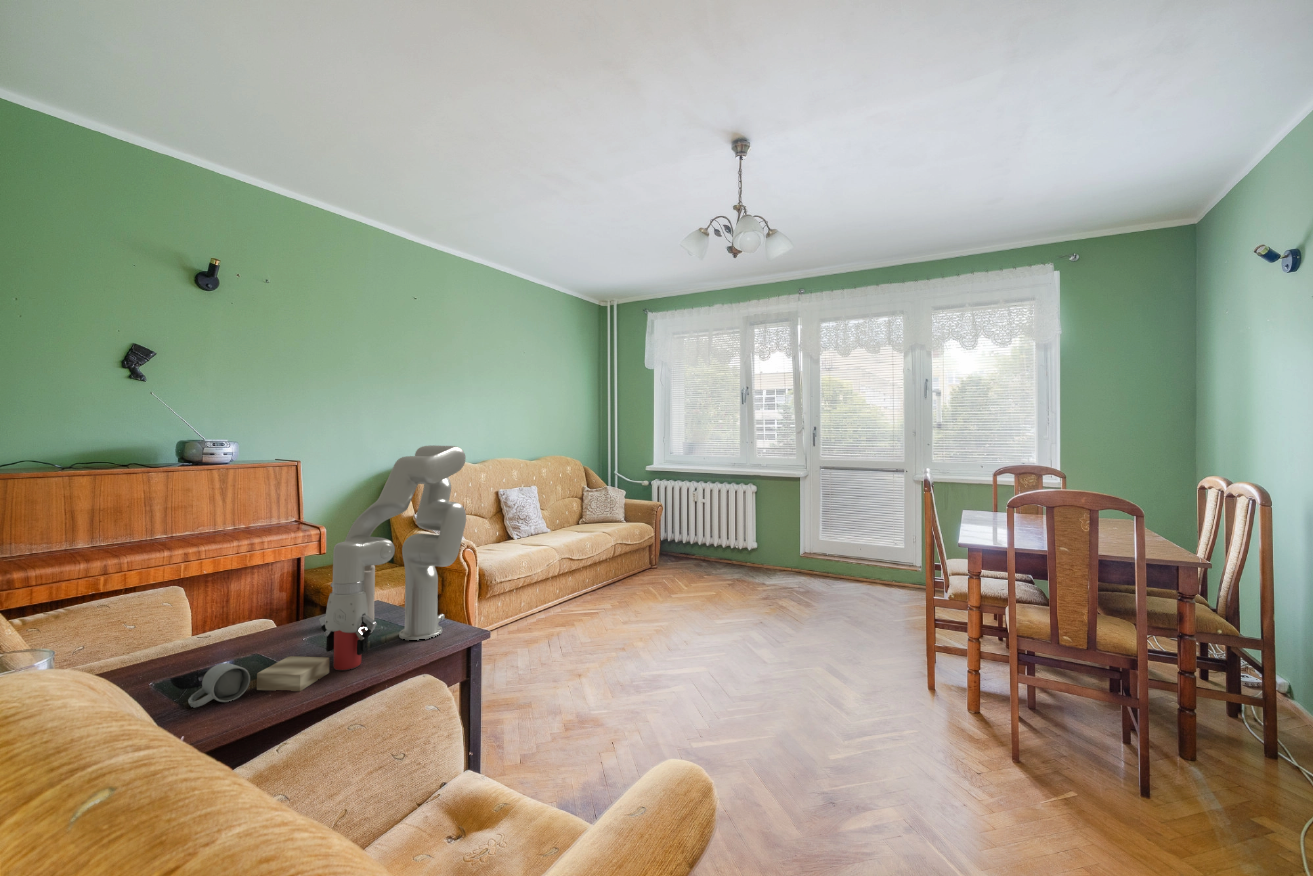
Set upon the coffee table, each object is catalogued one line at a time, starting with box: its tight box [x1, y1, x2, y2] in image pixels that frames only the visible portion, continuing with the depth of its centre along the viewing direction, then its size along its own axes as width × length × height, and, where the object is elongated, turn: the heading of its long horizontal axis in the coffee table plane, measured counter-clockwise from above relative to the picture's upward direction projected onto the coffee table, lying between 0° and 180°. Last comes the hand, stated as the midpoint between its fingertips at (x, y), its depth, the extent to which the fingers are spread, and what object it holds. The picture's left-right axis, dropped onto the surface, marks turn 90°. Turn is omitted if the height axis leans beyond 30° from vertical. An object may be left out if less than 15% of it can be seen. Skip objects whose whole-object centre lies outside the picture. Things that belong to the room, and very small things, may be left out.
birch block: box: [256, 655, 330, 692], centre depth 141 cm, size 11×11×4 cm
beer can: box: [333, 630, 363, 671], centre depth 151 cm, size 7×7×12 cm
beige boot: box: [364, 565, 376, 621], centre depth 185 cm, size 7×14×20 cm, turn 170°
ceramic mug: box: [187, 662, 251, 709], centre depth 131 cm, size 11×8×8 cm
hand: (346, 651), depth 151 cm, fingers open, 9 cm apart
